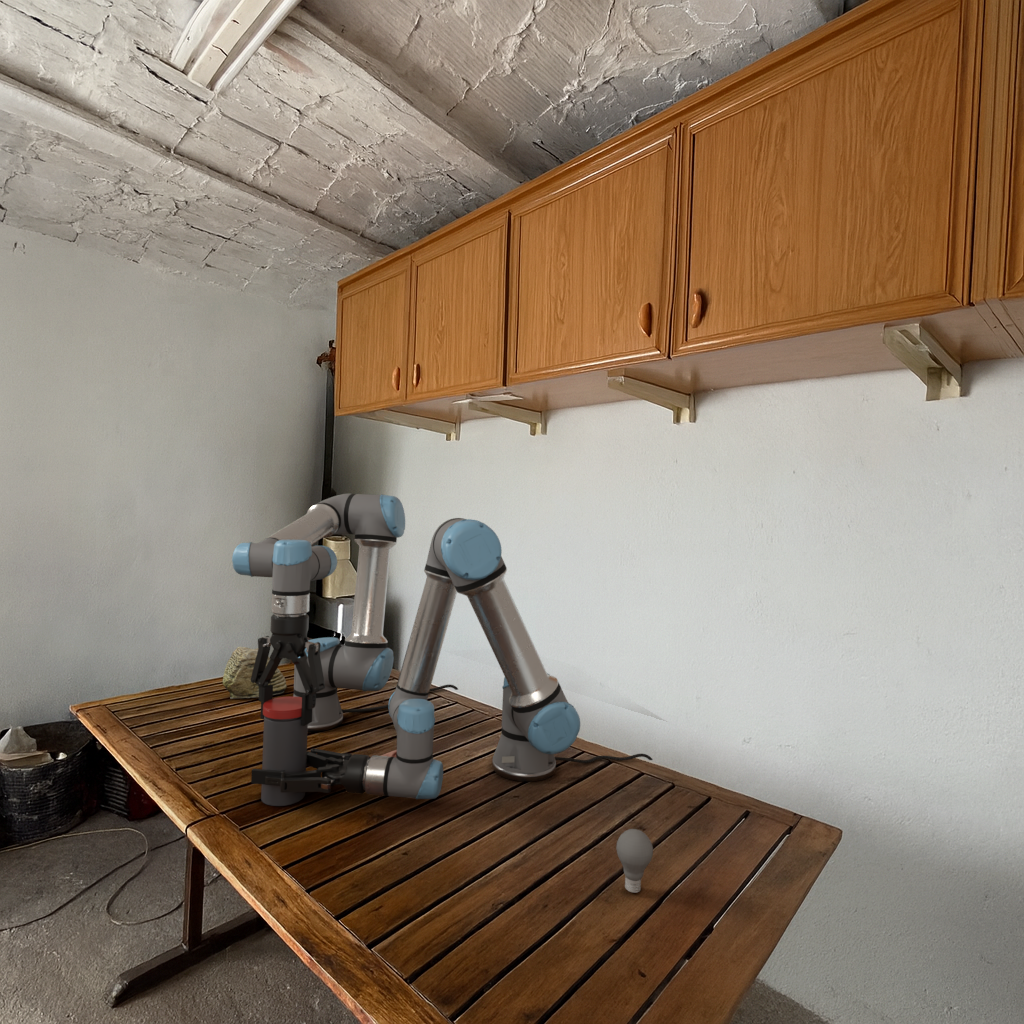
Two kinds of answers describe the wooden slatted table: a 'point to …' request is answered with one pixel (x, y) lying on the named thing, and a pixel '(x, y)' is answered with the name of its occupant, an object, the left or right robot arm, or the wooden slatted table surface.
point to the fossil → (247, 675)
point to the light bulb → (634, 857)
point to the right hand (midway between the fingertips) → (263, 766)
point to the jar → (283, 756)
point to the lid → (283, 708)
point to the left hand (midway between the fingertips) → (286, 720)
